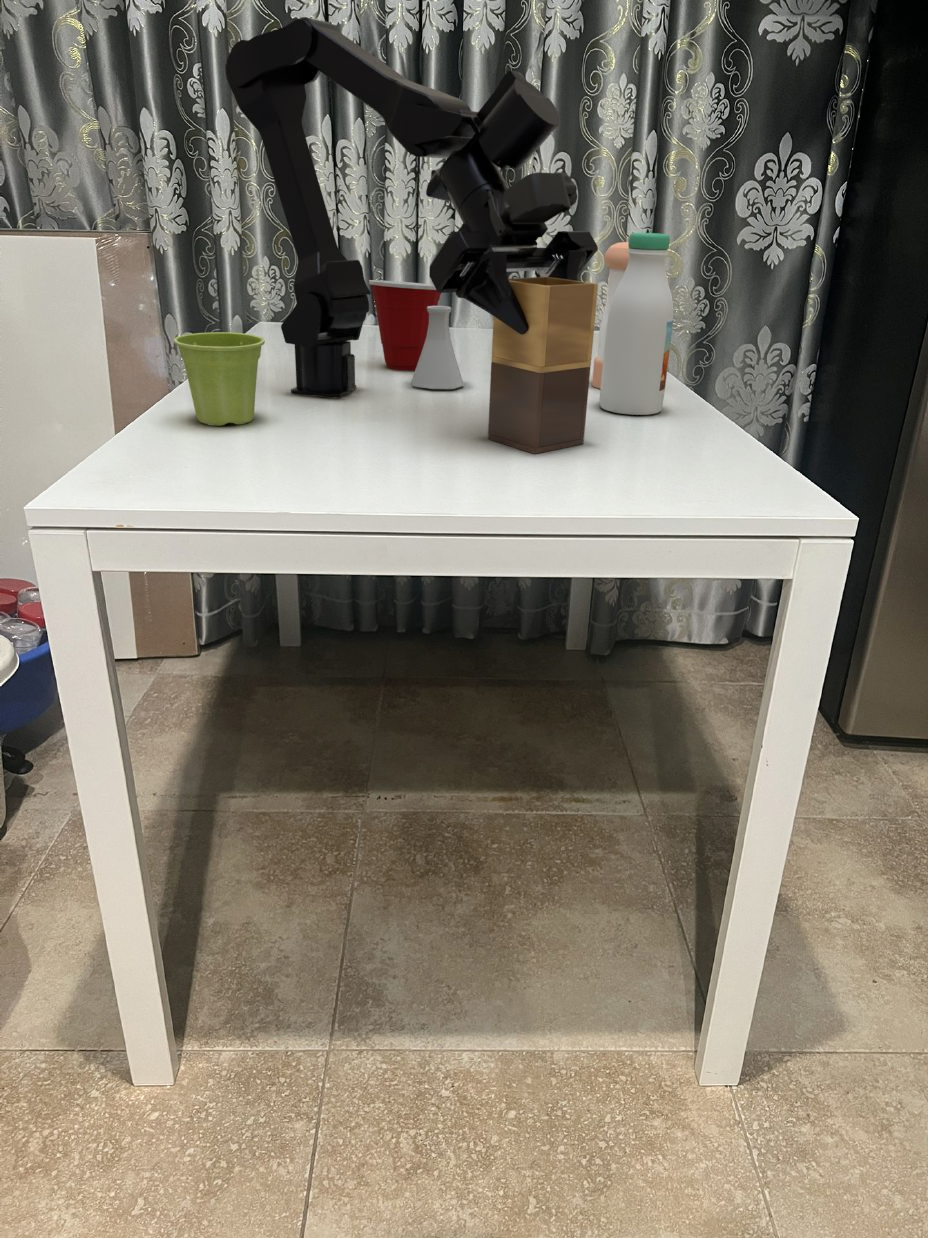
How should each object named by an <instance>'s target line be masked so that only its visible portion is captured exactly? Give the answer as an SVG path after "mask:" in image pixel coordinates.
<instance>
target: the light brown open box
mask: <svg viewBox="0 0 928 1238" xmlns="http://www.w3.org/2000/svg"><path fill="white" fill-rule="evenodd" d="M507 278H508V277H507ZM508 280H509V282H510V284H511V286H512V288H513V291H514V293H515V295H516V297H517V299H518V301H519V303H520V305H521V308H522V310H523V312H524V314H525V317H526V320H527V322H528V325H529V329H528V331H527V332H526V333H525V334H523V335H521V334H519V333H518V332H516V331H515V330H513V329H512V328H510V327H509V326H507V325H506V324H505V323H503V322H502V321H500V320H499V319H497V318H496V317H494V316H493V319H492V344H491V362H494V363H499V364H503V365H507V366H511V367H516V368H520V369H524V370H528V371H533V372H537V373H546V372H554V371H562V370H569V369H577V368H585V367H590V368H591V366H592V356H593V347H594V335H595V324H596V313H597V303H598V302H597V301H598V292H599V291H598V290H599V283H597V282H590V281H581V280H577V281H575V280H567V279H560V278H552V277H536V276H533V277H511V278H508Z"/></svg>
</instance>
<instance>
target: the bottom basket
mask: <svg viewBox="0 0 928 1238" xmlns="http://www.w3.org/2000/svg"><path fill="white" fill-rule="evenodd" d="M590 376H591V367H585V368H577V369H569V370H562V371H554V372H546V373H537V372H533V371H528V370H524V369H520V368H516V367H511V366H507V365H503V364H499V363H494V362H492V361H491V363H490V380H489V381H490V382H489V383H490V384H489V403H488V405H489V407H488V425H487V440H490V441H494V442H497V443H499V444H503V445H506V446H508V447H512V448H514V449H518V450H521V451H524V452H527V453H531V454H533V455H536V454H541V453H546V452H551V451H557V450H561V449H566V448H571V447H576V446H581V445H584V441H585V439H584V438H585V433H586V432H585V430H586V419H587V408H588V398H589V387H590V385H589V384H590Z"/></svg>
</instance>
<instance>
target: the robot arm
mask: <svg viewBox="0 0 928 1238" xmlns="http://www.w3.org/2000/svg"><path fill="white" fill-rule="evenodd" d="M230 49H231V50H230V52H229V54H228V55H227V58H226V63H225V66H224V67H225V68H224V70H225V71H224V72H225V76H226V80H227V83H228V86H229V88H230V90H231V93H232V95H233V97H234V100H235V102H236V105H237V107H238V109H239V110H240V112H241V113H242V114H243V115H244V117H245V118H246V119H247V120H248V121H249V123H250V124H251V125H253V127H254V129H256V131H257V132H258V134H259V135H260V138H261V141H262V144H263V147H264V151H265V154H266V157H267V161H268V164H269V167H270V171H271V173H272V178H273V181H274V184H275V188H276V190H277V194H278V197H279V200H280V204H281V207H282V210H283V214H284V218H285V220H286V224H287V227H288V230H289V233H290V238H291V241H292V245H293V247H294V250H295V253H296V258H297V265H296V270H295V276H294V279H293V280H294V281H293V291H294V296H295V301H296V304H295V305H294V307H293V308H292V310H291V311H290V312H289V314H288V315H287V316H286V318H285V319H284V320H283V322H282V323H281V324H280V329H281V333H282V336H283V339H284V342H285V344H289V345H294V361H295V362H294V363H295V384H296V385H295V387H294V388H291V389H290V394H294V395H300V396H302V395H303V396H312V397H313V396H314V397H324V398H335V399H337V398H338V399H339V398H341V397H343V396H346V395H347V394H349V393H351V392H353V391H355V390H357V385H356V359H355V358H356V356H355V354H354V353H352V344H351V343H352V341H358V340H359V339H360V336H361V332H362V329H363V324H364V322H365V320H366V318H367V314H368V313H369V312H370V302H369V301H370V300H369V297H368V295H371V291H370V289H369V287H368V286H367V283H366V280H365V275H364V269H363V268H364V267H363V265H362V263H361V261H360V260H359V259H347V258H346V256H344V254H343V253H342V252H341V251H340V249H339V247H338V244H337V241H336V237H335V234H334V230H333V227H332V223H331V220H330V216H329V213H328V210H327V206H326V203H325V200H324V195H323V192H322V189H321V185H320V182H319V177H318V175H317V173H316V168H315V163H314V162H313V161H314V160H313V158H312V154H311V152H310V148H309V143H308V140H307V137H306V134H305V131H304V130H305V129H304V127H303V118H304V113H305V108H306V103H307V91H306V87H307V86H309V85H310V84H312V83H314V82H316V81H317V80H318V79H319V77H320V76H321V74H323V75H324V76H326V77H327V78H329V79H330V80H332V81H333V82H335V84H337V85H339V86H340V87H341V88H343V90H345V91H346V92H348V93H350V94H351V95H352V96H354V97H355V98H357V99H358V100H359V101H361V102H362V103H363V104H365V105H366V106H368V107H369V108H370V109H372V110H373V111H375V112H376V113H377V114H378V115H379V116H380V117H381V118H382V120H383V121H384V123H385V125H386V128H387V130H388V132H389V133H390V135H391V136H392V137H393V138H394V139H395V141H397V142H398V144H400V145H401V146H402V148H404V150H405V151H406V152H408V154H410V155H411V156H414V157H418V158H419V157H420V158H432V159H434V158H435V159H445V161H444V162H442V165H441V166H440V167H439V168H438V169H432V170H431V172H430V179H429V181H428V183H427V185H426V190H425V195H426V197H429V198H432V199H437V200H441V201H445V202H451V203H452V205H453V207H454V209H455V210H456V212H457V214H458V215H459V218H460V220H461V222H462V224H461V226H460V227H459V228H458V231H450V233H449V234H448V236H447V237H446V239H445V240H444V242H443V244H442V245H441V246H440V248H439V250H438V251H437V253H436V254H435V256H434V258H433V259H432V261H431V262H430V264H429V271H428V272H429V278H430V280H431V282H432V285H434V286H435V288H436V290H437V292H438V293H441V294H449V293H455V296H456V297H457V298H458V299H464V300H466V301H468V302H470V303H471V304H473V305H475V306H476V307H478V308H479V309H481V310H483V311H485V312H486V313H488V314H490V315H491V316H493V318H494V317H496V318H497V319H499V320H500V321H502V322H503V323H505V324H506V325H507V326H509V327H510V328H512V329H513V330H515V331H516V332H518V333H519V334H521V335H523V334H525V333H526V332H527V331H528V329H529V325H528V322H527V320H526V317H525V314H524V312H523V310H522V308H521V305H520V303H519V301H518V299H517V297H516V295H515V293H514V291H513V288H512V286H511V284H510V282H509V280H508V273H509V272H510V273H511V272H534V275H535V277H552V278H560V279H567V280H575V281H578V274H579V273H580V272H581V271H582V270H583V268H585V266H586V265H587V264H588V262H589V261H590V260H592V258H593V257H594V256H595V254H596V253H597V252H598V251H599V248H598V244H597V242H596V241H595V239H594V237H593V236H592V234H591V232H590V231H584V230H583V231H582V230H563V231H562V230H558V231H557V232H556V233H555V235H554V236H553V238H551V240H550V241H549V243H548V244H547V246H545V247H537V246H538V242H537V240H538V239H539V238H543V237H544V235H545V234H546V232H547V231H548V230H549V227H548V226H547V224H546V223H547V222H548V221H550V220H551V219H553V218H555V217H556V216H558V215H560V214H561V213H567V212H568V211H569V210H570V209H571V207H572V206H573V205H575V204H576V203H577V200H578V193H577V190H578V187H577V184H575V182H574V181H573V180H572V178H571V176H570V175H568V173H567V172H559V171H558V172H557V171H555V172H533V173H529V174H527V175H525V176H524V177H522V178H521V179H519V180H518V181H516V182H515V183H514V184H512V185H511V186H509V185H508V183H507V182H506V180H505V178H504V176H503V173H502V172H501V171H500V169H502V170H507V169H508V168H512V169H515V170H520V169H522V168H523V167H524V166H525V165H526V163H527V162H528V161H529V160H530V159H531V157H532V156H533V155H534V154H535V153H536V152H537V151H538V149H539V148H540V147H541V146H542V145H543V144H544V142H546V140H547V139H548V138H549V137H550V135H551V134H552V133H553V132H554V131H555V129H556V128H557V127H558V126H559V125H560V123H561V117H560V113H559V112H558V109H557V107H556V106H555V104H554V103H553V102H552V100H551V99H550V98H549V97H548V96H545V95H544V93H542V92H541V91H540V90H539V89H538V88H537V87H536V86H535V85H534V84H532V83H530V82H529V81H528V80H526V78H525V77H524V75H523V74H522V72H520V71H516V70H510V69H508V70H507V71H506V73H505V74H504V75H503V77H501V79H500V81H499V82H498V84H497V86H496V88H495V90H494V91H493V92H492V94H491V95H490V96H489V97H488V99H487V100H486V101H485V103H484V104H483V105H482V106H481V107H480V109H479V110H478V111H473V110H472V109H471V108H470V106H469V105H468V104H467V103H466V102H465V101H464V100H463V99H460V98H458V97H455V96H453V95H450V94H448V93H445V92H442V91H440V90H438V89H435V88H432V87H428V86H425V85H423V84H419V83H416V82H414V81H411V80H410V79H407V78H406V77H405V76H403V75H402V74H400V73H399V72H398V71H396V70H395V69H393V68H392V67H391V66H389V65H387V64H386V63H385V62H383V61H382V60H380V59H379V58H377V57H376V56H375V55H373V54H372V53H370V52H369V51H368V50H366V49H364V47H362V46H360V45H359V44H357V43H356V42H354V41H353V40H351V39H350V38H349V37H347V36H346V35H344V34H343V33H341V32H340V30H339V29H338V28H337V27H336V26H335V25H334V24H332V23H331V22H329V21H325V20H320V19H315V18H311V17H308V16H302V17H299V18H297V19H294V20H293V21H291V22H290V23H288V24H287V25H285V26H283V27H280V28H277V29H274V30H271V31H268V32H264V33H260V34H258V35H255V36H253V37H251V38H250V39H241V40H239V41H236V42H235V44H234V45H233V46H232V47H231V48H230ZM507 272H508V273H507Z"/></svg>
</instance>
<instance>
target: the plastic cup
mask: <svg viewBox="0 0 928 1238" xmlns="http://www.w3.org/2000/svg"><path fill="white" fill-rule="evenodd" d="M368 284H369V285H370V287H371V290H372V296H373V300H374V305H375V309H376V310H375V311H376V317H377V324H378V329H379V330H378V331H379V336H380V344H381V345H382V353H383V357H384V363H385V367H386V368H387V369H390V370H392V371H393V370H394V371H401V372H402V371H403V372H412V371H414V372H415V369H416V367H417V364H418V361H419V358H420V355H421V352H422V349H423V346H424V343H425V340H426V337H427V331H428V325H429V312H428V311H427V307H428V306H439V301H440V298H441V295H442V293H438V292H437V290H436V288H435V286H434V284H433V283H432V284H431V283H421V282H410V281H409V282H408V281H398V280H397V281H395V280H381V279H369V280H368Z"/></svg>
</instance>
